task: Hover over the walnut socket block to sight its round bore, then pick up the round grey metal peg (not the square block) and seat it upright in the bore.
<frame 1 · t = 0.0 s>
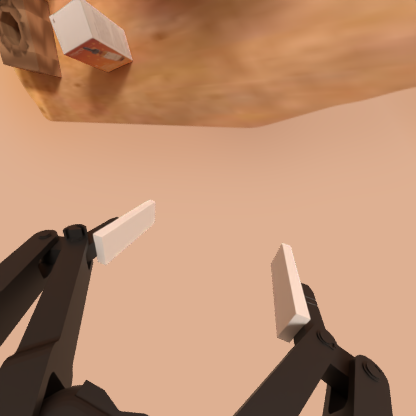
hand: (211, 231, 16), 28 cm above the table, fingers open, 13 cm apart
small box: (116, 53, 38), on the table
socket block: (36, 39, 41), on the table
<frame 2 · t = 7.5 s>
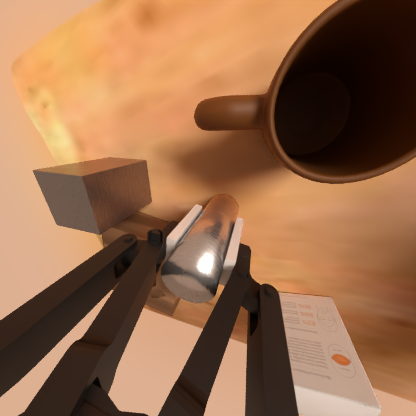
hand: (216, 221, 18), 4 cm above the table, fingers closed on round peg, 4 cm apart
small box: (299, 304, 25), on the table
round peg: (223, 208, 21), on the table, touching gripper
mug: (278, 119, 16), on the table
socket block: (157, 252, 28), on the table
square block: (131, 179, 24), on the table
when the fingers open (7 cm above the table, at t = 12.5 s): round peg drops 3 cm, resting in socket block.
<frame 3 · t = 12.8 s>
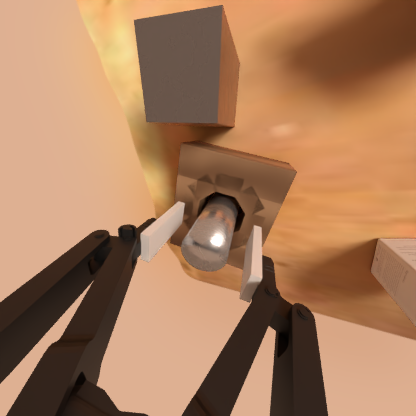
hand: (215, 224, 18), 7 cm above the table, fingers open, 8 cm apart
small box: (412, 254, 20), on the table
round peg: (226, 199, 24), resting in socket block
socket block: (227, 200, 24), on the table
square block: (211, 97, 19), on the table
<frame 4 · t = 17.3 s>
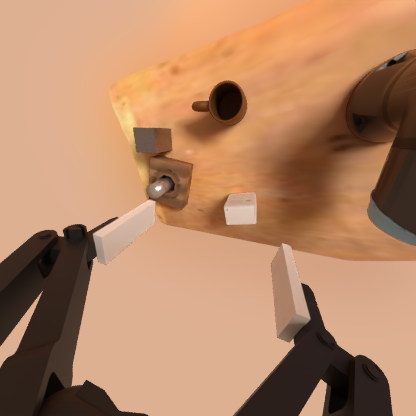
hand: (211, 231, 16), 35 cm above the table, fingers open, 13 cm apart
small box: (243, 200, 51), on the table
round peg: (173, 180, 55), resting in socket block
mug: (224, 109, 42), on the table
socket block: (173, 180, 55), on the table
square block: (162, 139, 50), on the table
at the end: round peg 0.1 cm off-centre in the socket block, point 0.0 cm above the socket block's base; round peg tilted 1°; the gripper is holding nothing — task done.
